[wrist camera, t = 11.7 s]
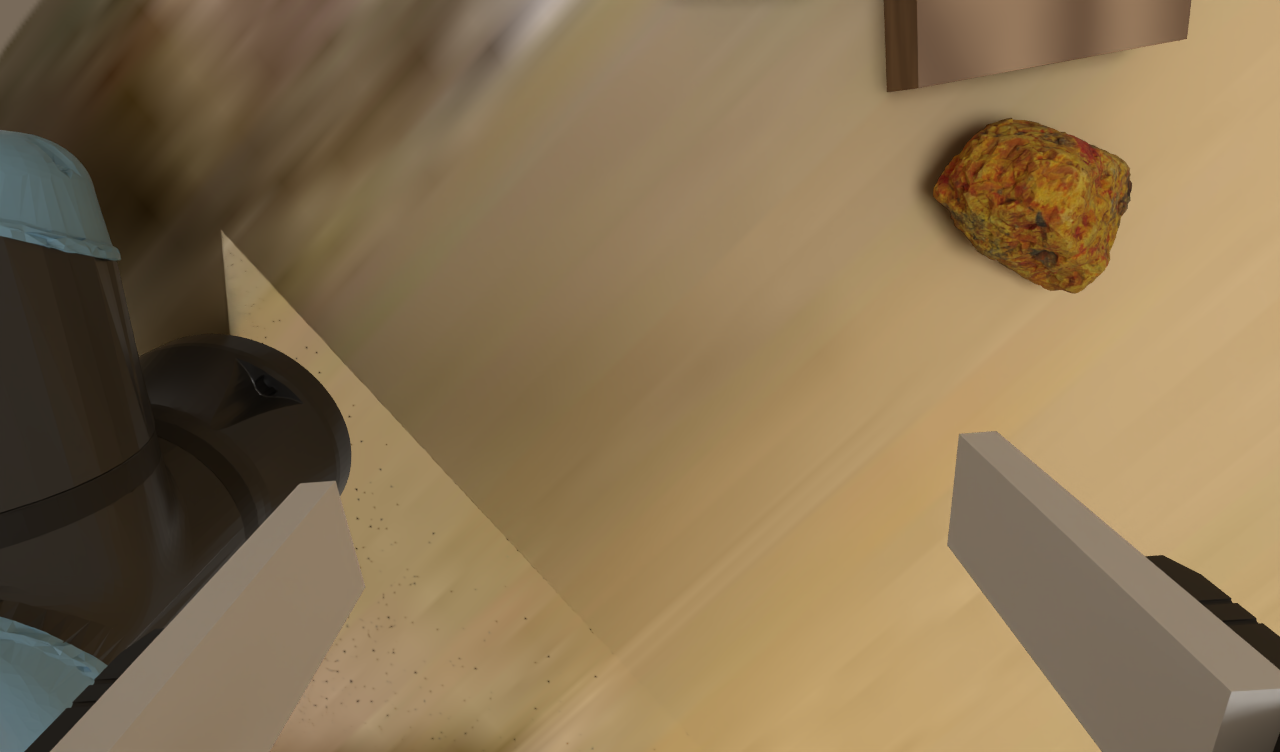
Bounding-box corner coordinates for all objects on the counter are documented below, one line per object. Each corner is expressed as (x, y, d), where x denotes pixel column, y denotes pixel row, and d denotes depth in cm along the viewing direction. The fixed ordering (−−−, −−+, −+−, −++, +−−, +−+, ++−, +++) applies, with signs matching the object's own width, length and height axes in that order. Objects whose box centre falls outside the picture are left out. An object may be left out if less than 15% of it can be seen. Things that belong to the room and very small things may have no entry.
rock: (1019, 113, 43) (1180, 178, 39) (948, 228, 47) (1086, 299, 43) (971, 94, 35) (1168, 174, 30) (891, 236, 39) (1053, 324, 35)
